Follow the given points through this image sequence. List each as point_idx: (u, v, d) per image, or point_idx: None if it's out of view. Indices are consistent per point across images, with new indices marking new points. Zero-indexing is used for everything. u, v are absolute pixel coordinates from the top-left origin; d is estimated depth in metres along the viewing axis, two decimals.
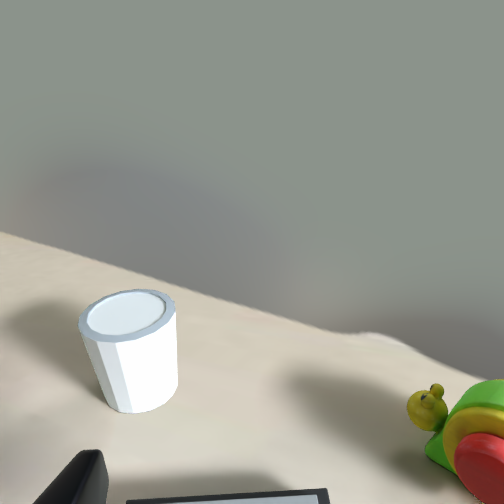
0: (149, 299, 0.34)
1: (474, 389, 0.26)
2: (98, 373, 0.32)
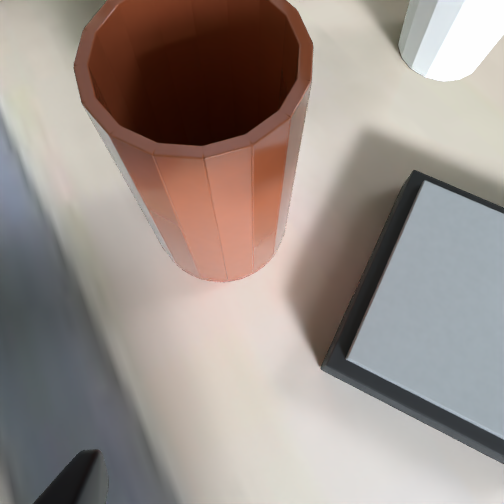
0: None
1: None
2: (415, 17, 0.27)
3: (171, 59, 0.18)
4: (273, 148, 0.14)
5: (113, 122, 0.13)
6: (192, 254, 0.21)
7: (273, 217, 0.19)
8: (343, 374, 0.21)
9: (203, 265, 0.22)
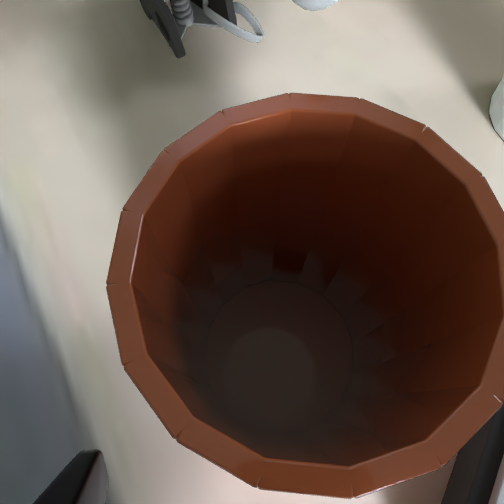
0: None
1: None
2: None
3: (241, 199, 0.12)
4: None
5: (181, 412, 0.07)
6: None
7: None
8: None
9: None
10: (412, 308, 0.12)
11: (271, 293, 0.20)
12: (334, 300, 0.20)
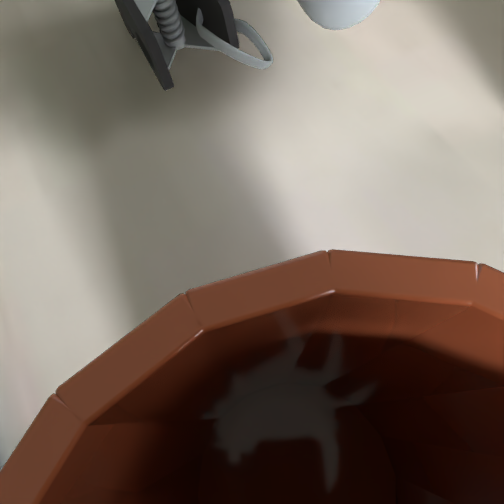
0: None
1: None
2: None
3: (238, 365, 0.07)
4: None
5: None
6: None
7: None
8: None
9: None
10: None
11: (286, 401, 0.16)
12: (370, 418, 0.15)
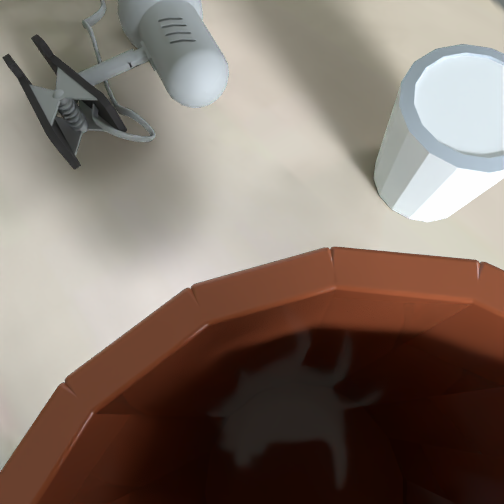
0: None
1: None
2: (393, 169, 0.23)
3: (244, 362, 0.07)
4: None
5: None
6: None
7: None
8: None
9: None
10: None
11: (294, 401, 0.16)
12: (378, 420, 0.15)
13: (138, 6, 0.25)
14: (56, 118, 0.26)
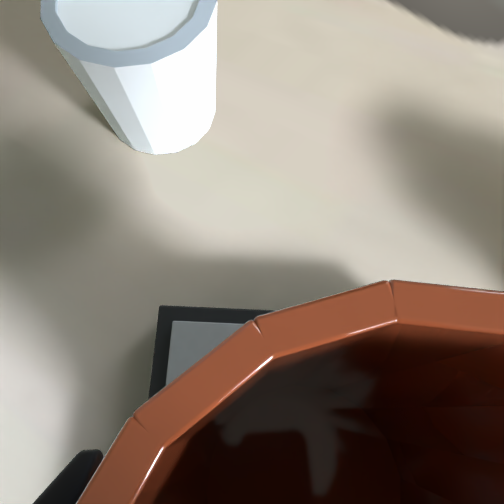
0: None
1: None
2: (94, 100, 0.20)
3: (272, 377, 0.07)
4: None
5: None
6: None
7: None
8: None
9: None
10: None
11: (294, 403, 0.16)
12: (377, 422, 0.15)
13: None
14: None
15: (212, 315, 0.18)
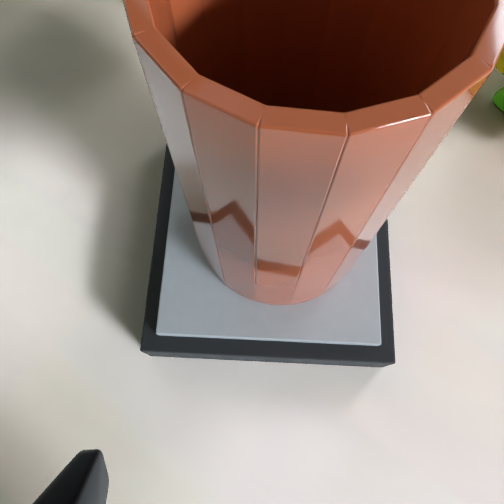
0: None
1: None
2: None
3: None
4: (444, 123, 0.08)
5: (187, 68, 0.07)
6: (255, 274, 0.15)
7: (376, 228, 0.14)
8: (161, 351, 0.19)
9: (265, 287, 0.17)
10: None
11: None
12: None
13: None
14: None
15: None
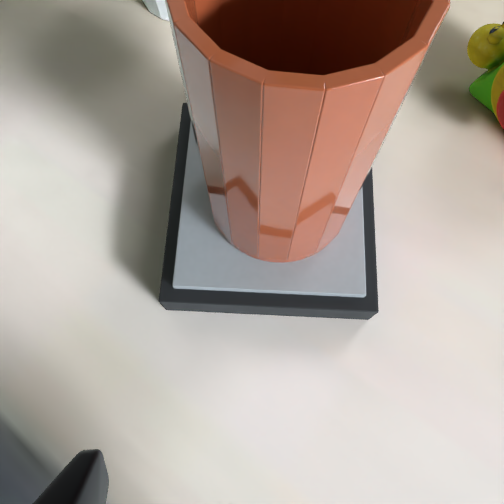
0: None
1: None
2: None
3: None
4: (397, 86, 0.11)
5: (213, 45, 0.11)
6: (259, 226, 0.18)
7: (357, 185, 0.17)
8: (177, 302, 0.22)
9: (266, 241, 0.20)
10: None
11: None
12: None
13: None
14: None
15: None
